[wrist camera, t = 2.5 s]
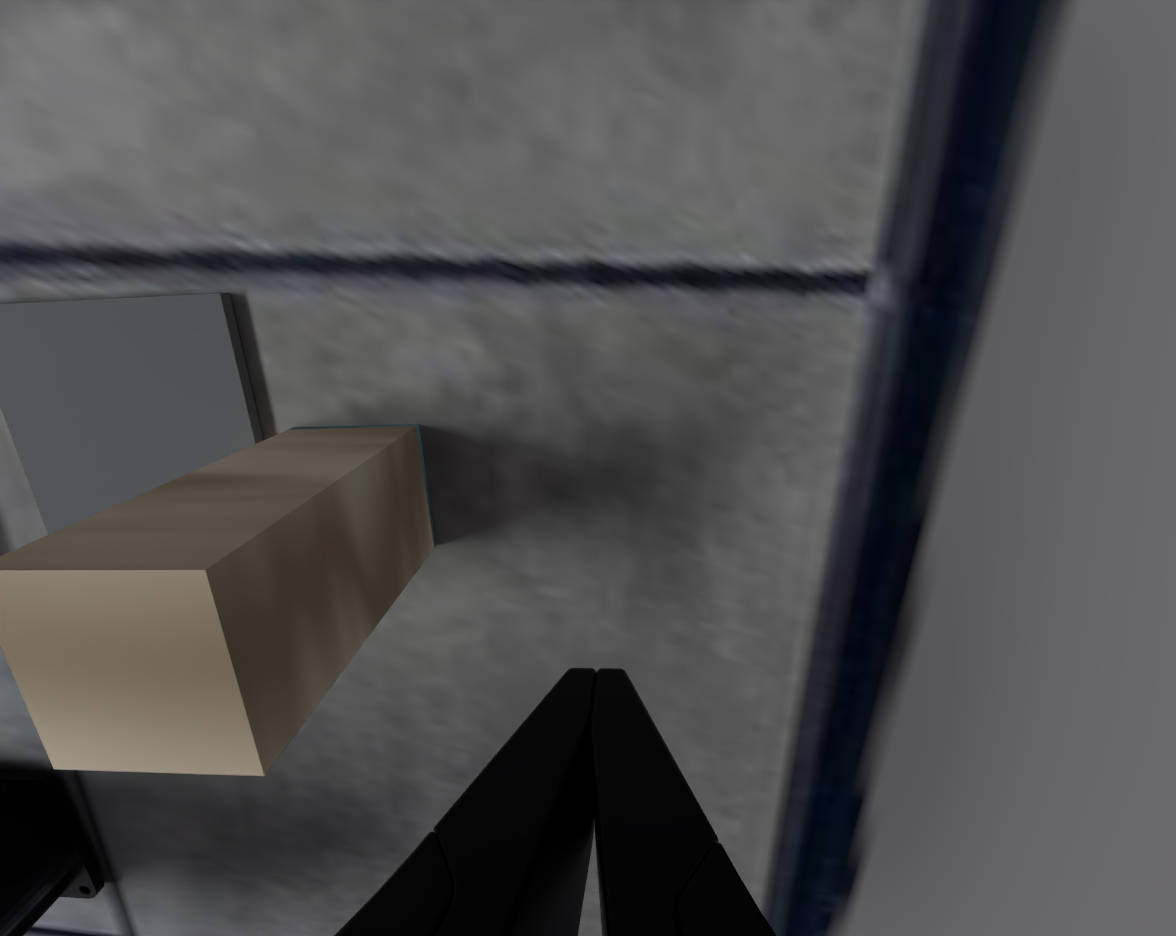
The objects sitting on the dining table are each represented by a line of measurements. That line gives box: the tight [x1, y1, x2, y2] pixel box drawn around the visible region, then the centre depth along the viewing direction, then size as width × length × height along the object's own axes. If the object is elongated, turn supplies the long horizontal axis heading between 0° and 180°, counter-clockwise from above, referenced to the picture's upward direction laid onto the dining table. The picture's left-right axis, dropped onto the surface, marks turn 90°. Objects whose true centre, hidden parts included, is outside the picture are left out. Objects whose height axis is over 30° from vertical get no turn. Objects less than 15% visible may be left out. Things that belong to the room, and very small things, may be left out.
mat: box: [0, 293, 264, 535], centre depth 18 cm, size 12×8×1 cm, turn 3°
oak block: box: [0, 425, 436, 776], centre depth 14 cm, size 4×4×9 cm
